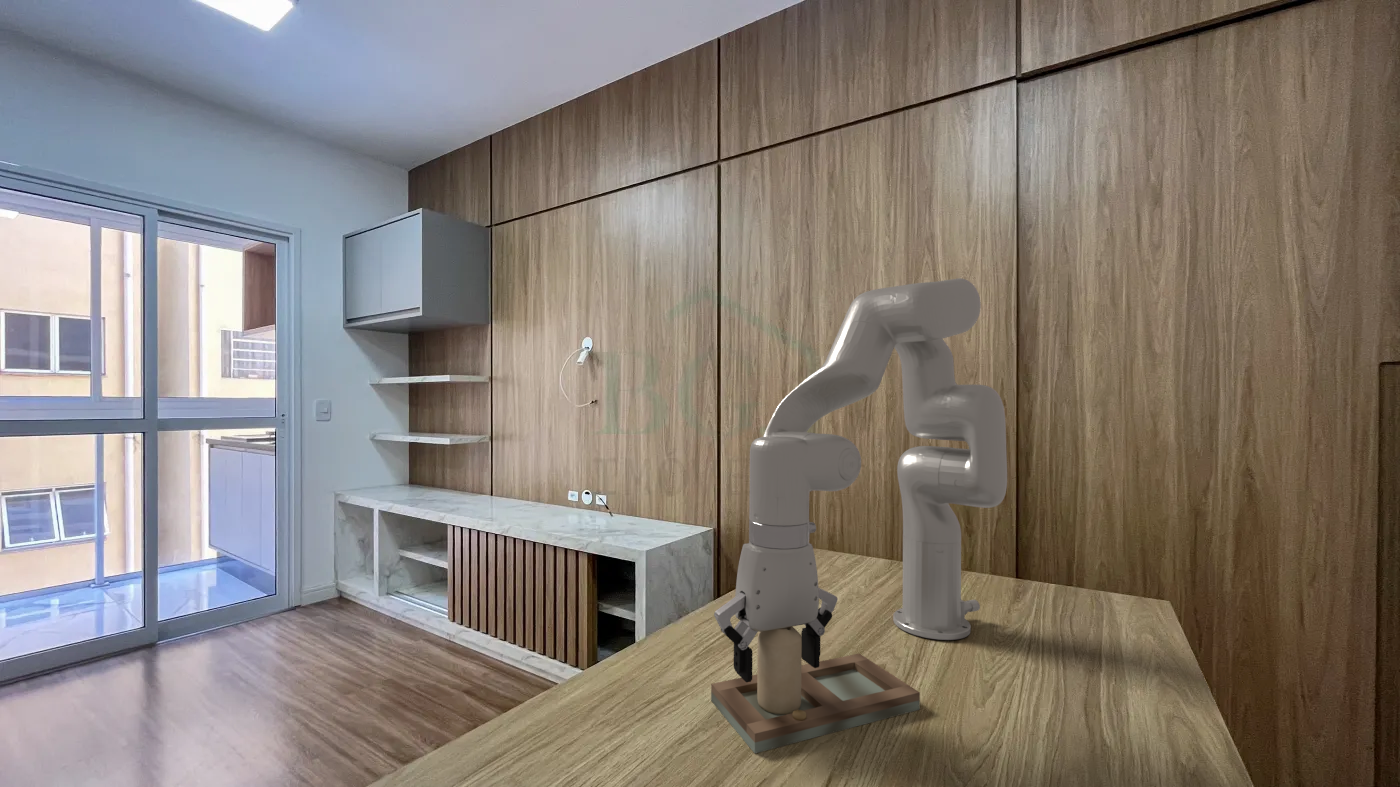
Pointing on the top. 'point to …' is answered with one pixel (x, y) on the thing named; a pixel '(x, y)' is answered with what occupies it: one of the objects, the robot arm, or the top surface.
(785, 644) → the candle
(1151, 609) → the top surface
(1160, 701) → the top surface
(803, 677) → the divided tray
